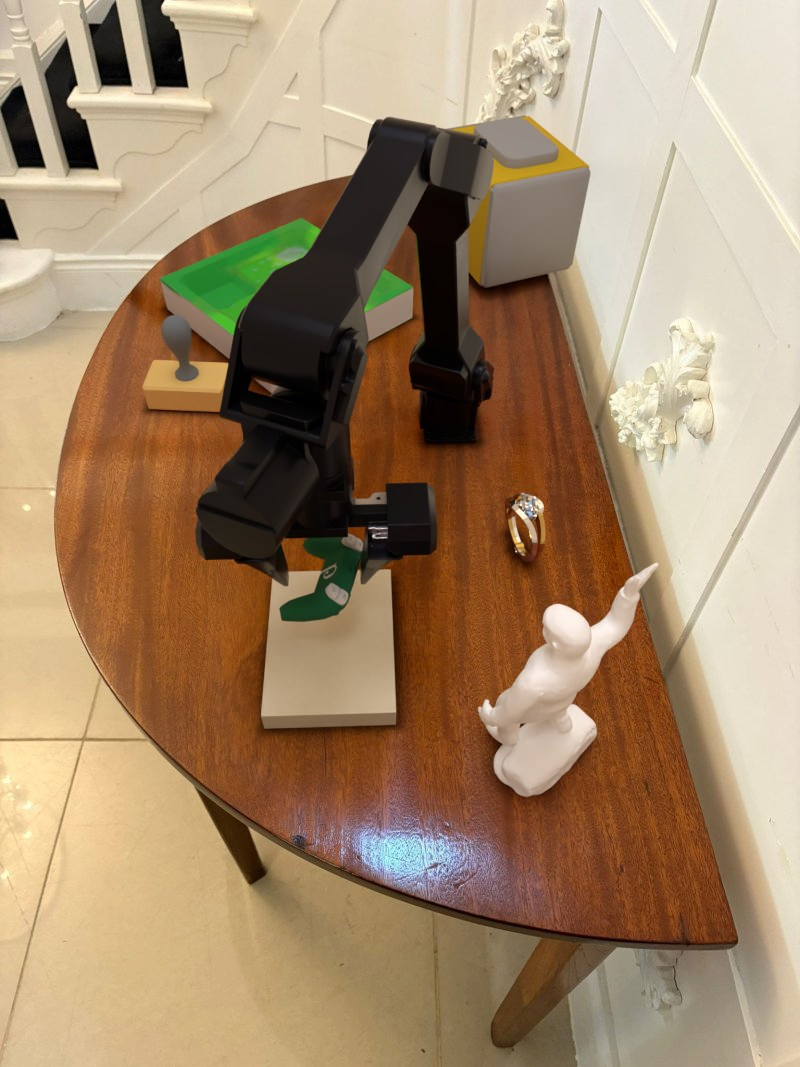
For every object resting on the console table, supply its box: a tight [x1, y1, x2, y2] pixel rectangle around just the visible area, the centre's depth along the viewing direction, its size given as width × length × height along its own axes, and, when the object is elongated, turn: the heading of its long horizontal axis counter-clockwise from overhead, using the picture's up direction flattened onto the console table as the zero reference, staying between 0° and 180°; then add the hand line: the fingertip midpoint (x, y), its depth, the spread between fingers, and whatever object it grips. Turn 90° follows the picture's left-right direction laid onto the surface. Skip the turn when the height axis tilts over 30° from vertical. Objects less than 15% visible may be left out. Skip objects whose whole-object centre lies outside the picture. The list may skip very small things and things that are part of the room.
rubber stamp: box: [141, 314, 229, 413], centre depth 95 cm, size 10×6×12 cm, turn 87°
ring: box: [504, 492, 547, 562], centre depth 81 cm, size 7×3×8 cm, turn 14°
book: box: [260, 568, 397, 730], centre depth 75 cm, size 12×16×2 cm
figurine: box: [477, 562, 659, 798], centre depth 60 cm, size 12×8×25 cm
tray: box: [159, 217, 414, 394], centre depth 110 cm, size 25×25×5 cm
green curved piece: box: [279, 533, 363, 622], centre depth 68 cm, size 9×4×6 cm
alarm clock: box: [447, 115, 591, 289], centre depth 115 cm, size 20×16×18 cm
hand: (325, 581), depth 68 cm, fingers closed on green curved piece, 6 cm apart
